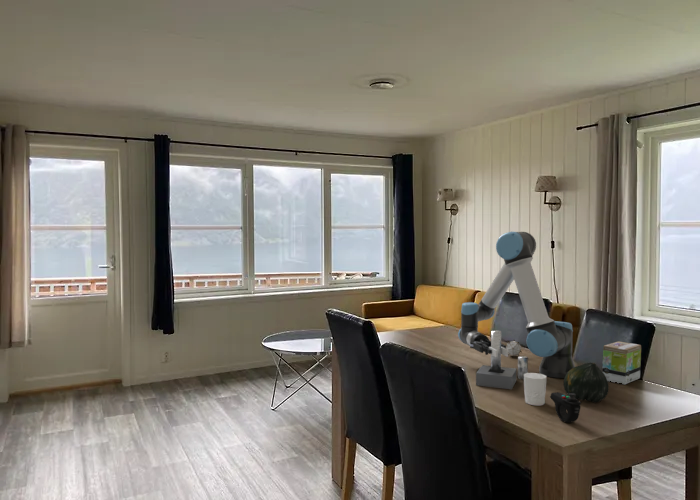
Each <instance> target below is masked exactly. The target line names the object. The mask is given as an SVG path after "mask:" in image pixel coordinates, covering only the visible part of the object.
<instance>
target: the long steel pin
mask: <svg viewBox="0 0 700 500" xmlns="http://www.w3.org/2000/svg"><path fill="white" fill-rule="evenodd" d="M490 332H491V334H490V339H491V340H490V341H491V347H492V348H494V349H496V350H498V351H497V357H494V356H493V355H491V354H490V366H491V372H495V373H501V367H502V363H501V362H502V354H501V343H502V330H497V329H496V330H494V329H492V330H491V331H490Z"/></svg>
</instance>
